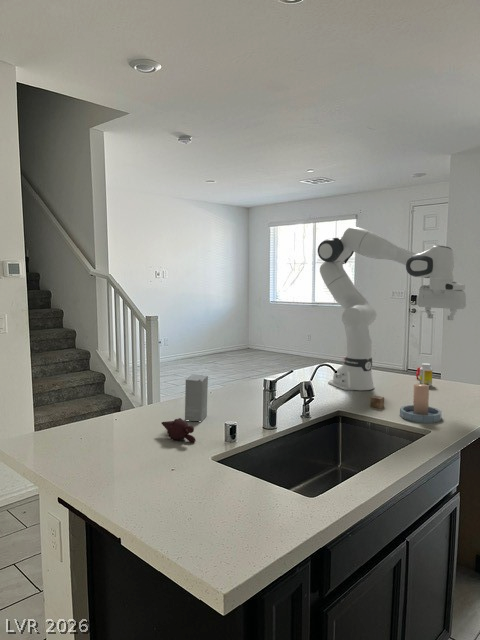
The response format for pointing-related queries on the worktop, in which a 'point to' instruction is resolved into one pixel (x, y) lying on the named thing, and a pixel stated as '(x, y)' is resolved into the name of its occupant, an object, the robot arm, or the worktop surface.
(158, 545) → the worktop surface
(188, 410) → the skincare box
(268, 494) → the worktop surface
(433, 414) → the dish
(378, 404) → the walnut block
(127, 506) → the worktop surface
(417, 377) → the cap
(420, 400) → the peach tapered cylinder
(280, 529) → the worktop surface
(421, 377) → the supplement bottle
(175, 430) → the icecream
